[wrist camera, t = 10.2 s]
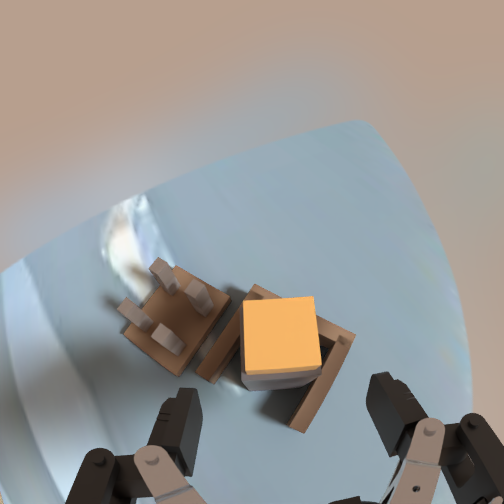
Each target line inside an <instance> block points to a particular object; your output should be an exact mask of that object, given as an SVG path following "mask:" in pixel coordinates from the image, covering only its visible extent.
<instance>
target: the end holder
mask: <svg viewBox="0 0 504 504" xmlns="http://www.w3.org/2000/svg"><path fill="white" fill-rule="evenodd" d="M265 299H282V298H281V297H280V296H278V295H276V294H274V293H272V292H270V291H268V290H266V289H264V288H262V287H260V286H258V285H256V284H254V285H253V287H252V288H251V290H250V291H249V293H248V294H247V296H246V297H245V299H244V300H243V301H246V300H265ZM239 307H243V302H242V303H241V305H240V306H239ZM316 321H317V328H318V336H319V344H320V345H322V346H324V347H326V348H328V349H329V350H328V352H327V354H326V356H325V358H324V359H323V361H322V365H321V371H322V375H321V376H319V377H317V378H316V379H314V380H313V381H312V382H311V384H310V385H309V387H308V389H307V391H306V393H305V394H304V396H303V398H302V399H301V401H300V403H299V405H298V406H297V408H296V410H295V411H294V413H293V415H292V416H291V418H290V419H289V421H288V423H287V424H286V425H288V426H289V427H291V428H293V429H295V430H297V431H299V432H301V433H305V432H306V430H307V428H308V427H309V425H310V423H311V422H312V420H313V418H314V417H315V415H316V413H317V411H318V410H319V408H320V406H321V404H322V402H323V401H324V399H325V397H326V395H327V393H328V391H329V390H330V388H331V386H332V384H333V382H334V380H335V378H336V376H337V374H338V372H339V370H340V368H341V366H342V364H343V362H344V360H345V358H346V356H347V354H348V351H349V349H350V347H351V345H352V343H353V341H354V338H355V336H356V334H354V333H352V332H350V331H347V330H345V329H343V328H341V327H339V326H337V325H335V324H333V323H331V322H329V321H327V320H325V319H323V318H321V317H319V316H317V315H316ZM239 347H240V309H239V308H238V309H237V311H236V312H235V314H234V315H233V317H232V318H231V320H230V321H229V323H228V324H227V326H226V327H225V329H224V330H223V332H222V333H221V335H220V336H219V338H218V339H217V341H216V342H215V343H214V345H213V346H212V348H211V349H210V351H209V352H208V354H207V355H206V357H205V358H204V360H203V361H202V363H201V364H200V365H199V367H198V368H197V370H196V371H195V373H197V374H198V375H200V376H201V377H203V378H204V379H206V380H208V381H209V382H211V383H213V384H215V383H216V381H217V380H218V378H219V377H220V375H221V374H222V372H223V371H224V369H225V368H226V366H227V365H228V363H229V362H230V360H231V359H232V357H233V356H234V354H235V353H236V351H237V350H238V348H239Z"/></svg>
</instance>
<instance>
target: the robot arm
mask: <svg viewBox="0 0 504 504" xmlns="http://www.w3.org/2000/svg"><path fill="white" fill-rule="evenodd" d="M366 406H367V410H368V412H369V414H370V416H371V418H372V420H373V422H374V424H375V427H376V429H377V431H378V433H379V435H380V437H381V440H382V442H383V444H384V446H385V448H386V451H387V453H388V455H389V457H392V456H396V455H398V456H399V458H400V459H399V461H398V463H397V466H396V468H395V470H394V473H393V475H392V478H391V480H390V482H389V485H388V487H387V489H386V491H385V493H384V495H383V496H382V498H381V500H380V502H379V503H376V502H370V501H361V500H360V496H356V497H352V498H348V499H343V500H339V501H334V502H331V503H329V504H431V501H432V498H433V495H434V492H435V489H436V485H437V482H438V478H439V474H440V470H442V472H443V474H444V476H445V478H446V481H447V483H448V485H449V487H450V490H451V492H452V494H453V496H454V499H455V501H456V503H457V504H504V446H503V445H502V443H501V442H500V440H499V439H498V437H497V436H496V435H495V433H494V432H493V430H492V429H491V427H490V426H489V425H488V423H487V422H486V421H485V419H484V418H483V417H482V416H481V415H479V414H476V413H469V414H467V415H465V416H464V417H463V418H462V419H461V421H460V423H455V424H446V425H444V424H443V423H442V422H441V421H440V420H438V419H435V418H429V417H428V416H427V414H426V413H425V411H424V410H423V408H422V407H421V405H420V404H419V402H418V401H417V400H416V398H415V397H414V395H413V394H412V393H411V391H410V389H409V388H408V387H407V385H406V384H404V383H403V382H401V381H400V380H398V379H397V380H394V379H393V378H392V376H391V375H390V373H389V372H382V373H377V374H373V375H372V376H371V379H370V384H369V388H368V392H367V397H366ZM202 421H203V415H202V409H201V404H200V400H199V396H198V391H197V389H196V388H179V391H178V394H177V397H176V398H168V399H167V400H166V401H165V402H164V403H163V404H162V406H161V409H160V411H159V414H158V417H157V421H156V422H155V425H154V427H153V430H152V433H151V435H150V438H149V441H148V443H147V446H144V447H142V448H140V449H139V450H138V451H137V452H136V453H135V454H133V455H123V456H114V455H113V453H112V452H111V451H109V450H107V449H104V448H96V449H93V450H91V451H89V452H88V453H87V454H86V456H85V458H84V460H83V462H82V464H81V467H80V469H79V471H78V474H77V476H76V478H75V481H74V483H73V485H72V488H71V490H70V493H69V495H68V498H67V500H66V503H65V504H136V500H137V498H141V497H154V498H155V502H156V503H157V504H207V503H206V502H205V501H204V500H203V499H202V497H201V496H200V495H199V494H198V492H197V491H196V490H195V489H194V488H193V486H191V485H190V484H189V483H188V482H187V480H186V479H185V478H184V477H185V476H190V477H192V475H193V470H194V464H195V459H196V454H197V448H198V443H199V438H200V432H201V427H202ZM468 455H469V456H468ZM470 458H471V459H470ZM471 460H472V461H471ZM472 462H473V463H472ZM473 464H474V465H473Z"/></svg>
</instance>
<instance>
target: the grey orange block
mask: <svg viewBox="0 0 504 504" xmlns="http://www.w3.org/2000/svg"><path fill="white" fill-rule="evenodd" d="M239 309H240V348H241V380H242V382H243V383H244V385H245V386H246V387H247V388H248V390H249V391H264V390H280V389H292V388H301V387H303V386H304V385H306V384H308V383H309V382H311V381H313V380H314V379H316V378H317V377H319V376H321V375H322V371H321V365H322V363H321V354H320V345H319V336H318V328H317V321H316V313H315V306H314V298H313V296H310V297H296V298H282V299H265V300H246V301H243V307H239Z"/></svg>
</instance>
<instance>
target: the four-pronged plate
mask: <svg viewBox="0 0 504 504" xmlns="http://www.w3.org/2000/svg"><path fill="white" fill-rule="evenodd" d="M149 270H150V271H151V273H152V274H153V276H154V277H155V278H156V280H157V281H158V283H159V284H160V286H159V287H158V289H157V290H156V291H155V292H154V294H153V295H152V296H151V298H150V299H149V300H148V302H147V303H146V304H145V306H144V307H143V308H142V310H141V309H140V308H139V307H138V306H137V305H136V304H135V303H133V302H132V301H131V300H129V299H128V298H127V297H126V298H125V299H124V301H123V302H122V303H121V304H120V306H119V307H118V308H117V310H118V311H119V312H121V313H122V314H123V315H124V316H125V317H127V318H128V319H129V320H130V321H132V323H131V324H130V326H129V327H128V328H127V330H126V331H125V333H124V335H125V336H126V337H127V338H128V339H129V340H131V341H132V342H133V343H134V344H135V345H137V346H138V347H139V348H140V349H142V350H143V351H144V352H145V353H147V354H148V355H149V356H150V357H152V358H153V359H154V360H156V361H157V362H158V363H159V364H161V365H162V366H163V367H165V368H166V369H167V370H169V371H170V372H172V373H173V374H174V375H176V376H178V377H179V376H180V375H181V374H182V372H183V371H184V369H185V368H186V366H187V365H188V363H189V362H190V361H191V359H192V358H193V356H194V355H195V353H196V352H197V351H198V349H199V348H200V346H201V345H202V343H203V342H204V340H205V339H206V337H207V336H208V335H209V333H210V332H211V330H212V329H213V327H214V326H215V324H216V323H217V321H218V320H219V319H220V317H221V316H222V314H223V313H224V311H225V310H226V308H227V307H228V305H229V304H230V302H231V298H230V296H228V295H227V294H225V293H223V292H221V291H220V290H218V289H216V288H214V287H212V286H211V285H209V284H207V283H206V282H204V281H202V280H200V279H199V278H197V277H195V276H194V275H192V274H190V273H188V272H187V271H185V270H183V269H182V268H180V267H178V266H177V265H176V266H175V267H174V268H173V269H172V270H171V268H170V266H169V265H168V263H167V262H165V261H164V260H162V259H161V258H159V257H158V258H157V259H156V260H155V261H154V263H153V264H152V265H151V266H150V267H149Z"/></svg>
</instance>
